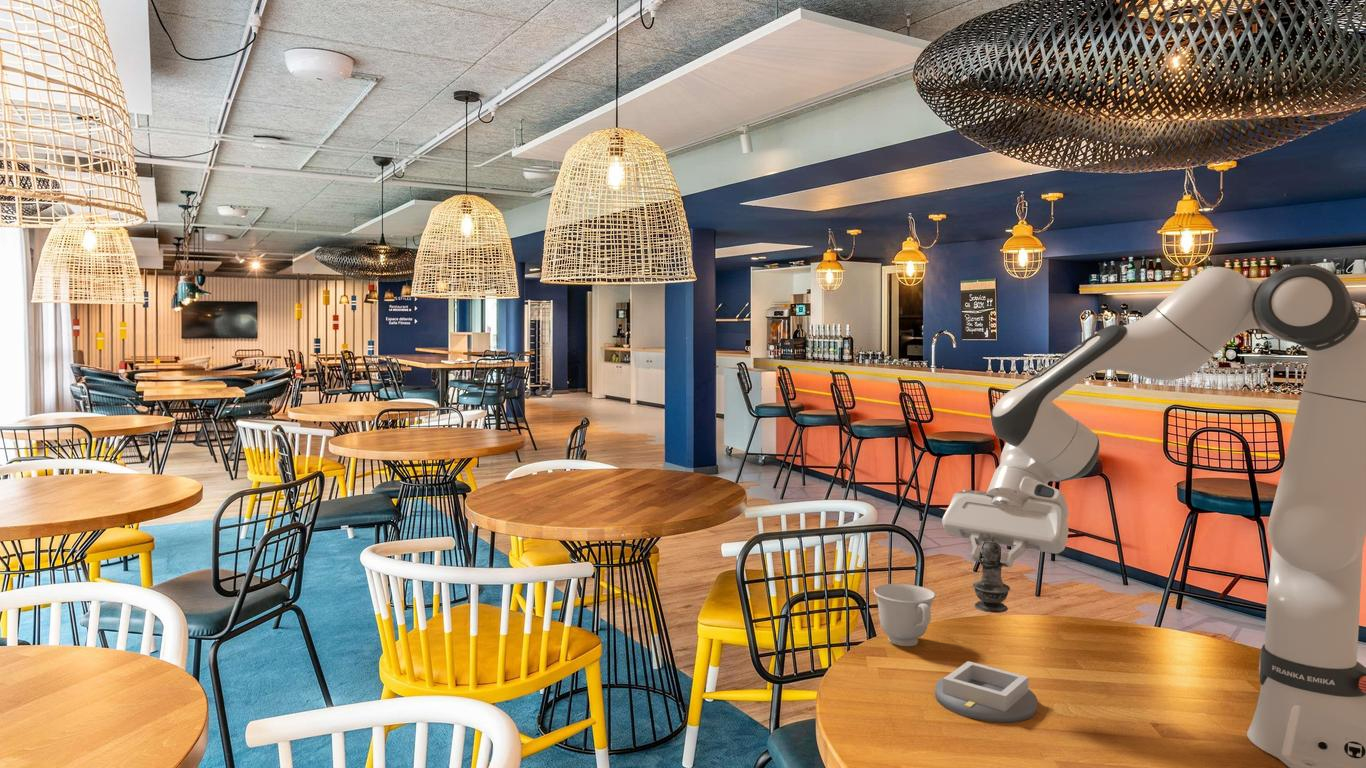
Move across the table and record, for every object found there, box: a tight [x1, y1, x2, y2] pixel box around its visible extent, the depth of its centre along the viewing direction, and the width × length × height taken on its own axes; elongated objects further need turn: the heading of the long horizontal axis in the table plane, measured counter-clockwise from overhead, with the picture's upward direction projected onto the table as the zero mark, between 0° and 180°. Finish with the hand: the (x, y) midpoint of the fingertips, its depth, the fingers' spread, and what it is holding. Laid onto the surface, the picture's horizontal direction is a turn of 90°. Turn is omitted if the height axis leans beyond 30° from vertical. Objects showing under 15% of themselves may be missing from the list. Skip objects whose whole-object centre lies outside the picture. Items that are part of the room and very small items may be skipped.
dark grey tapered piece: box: [972, 537, 1011, 614], centre depth 142 cm, size 6×6×12 cm
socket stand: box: [934, 660, 1038, 724], centre depth 142 cm, size 16×16×4 cm
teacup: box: [873, 583, 936, 647], centre depth 169 cm, size 12×15×10 cm
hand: (990, 562), depth 142 cm, fingers closed on dark grey tapered piece, 4 cm apart
